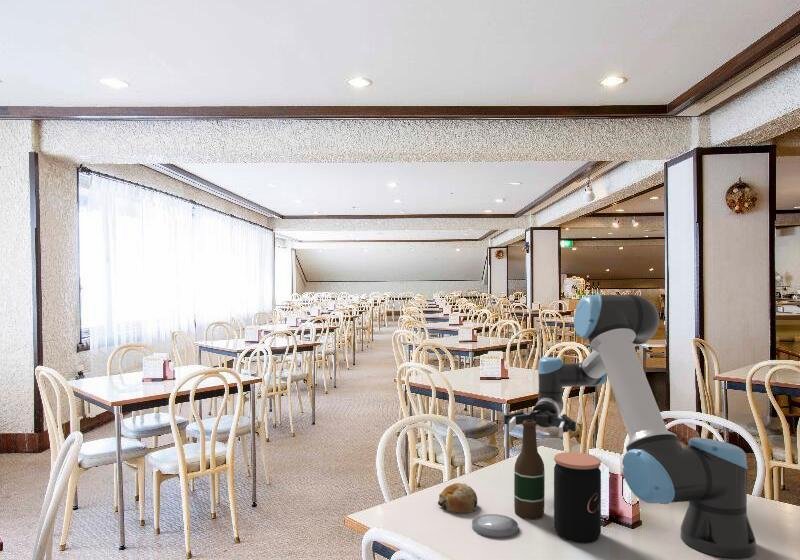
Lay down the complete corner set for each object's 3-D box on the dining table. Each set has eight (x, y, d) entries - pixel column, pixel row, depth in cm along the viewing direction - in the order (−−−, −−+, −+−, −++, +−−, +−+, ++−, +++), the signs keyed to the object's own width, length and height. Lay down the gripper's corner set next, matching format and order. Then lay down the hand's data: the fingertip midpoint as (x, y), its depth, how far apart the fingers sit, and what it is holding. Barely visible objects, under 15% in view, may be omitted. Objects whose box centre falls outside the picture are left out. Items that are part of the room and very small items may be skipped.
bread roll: (468, 529, 147) (482, 502, 147) (432, 509, 149) (446, 482, 149) (471, 514, 157) (484, 489, 157) (437, 495, 159) (450, 470, 158)
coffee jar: (594, 548, 129) (594, 468, 129) (548, 537, 135) (548, 460, 135) (605, 531, 138) (605, 456, 138) (561, 521, 144) (561, 449, 144)
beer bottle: (548, 520, 144) (548, 424, 145) (517, 520, 144) (517, 424, 145) (541, 508, 152) (541, 417, 152) (511, 508, 152) (511, 417, 152)
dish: (514, 519, 145) (514, 513, 145) (521, 538, 134) (521, 532, 134) (470, 518, 145) (470, 513, 145) (474, 537, 134) (474, 531, 134)
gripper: (588, 429, 173) (582, 448, 153) (505, 420, 182) (489, 438, 163) (588, 404, 173) (582, 420, 153) (505, 397, 182) (490, 411, 163)
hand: (534, 429), depth 158 cm, fingers open, 13 cm apart
